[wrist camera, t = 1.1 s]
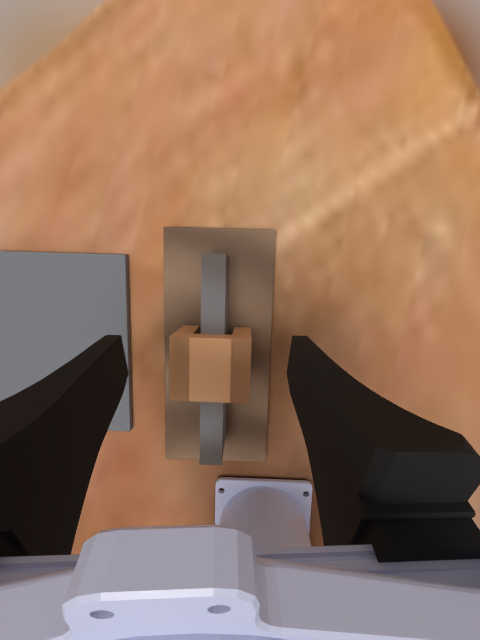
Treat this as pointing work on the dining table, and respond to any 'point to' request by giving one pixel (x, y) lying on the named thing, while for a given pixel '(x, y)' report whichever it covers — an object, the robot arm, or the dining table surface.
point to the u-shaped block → (210, 365)
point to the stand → (220, 318)
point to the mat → (61, 316)
